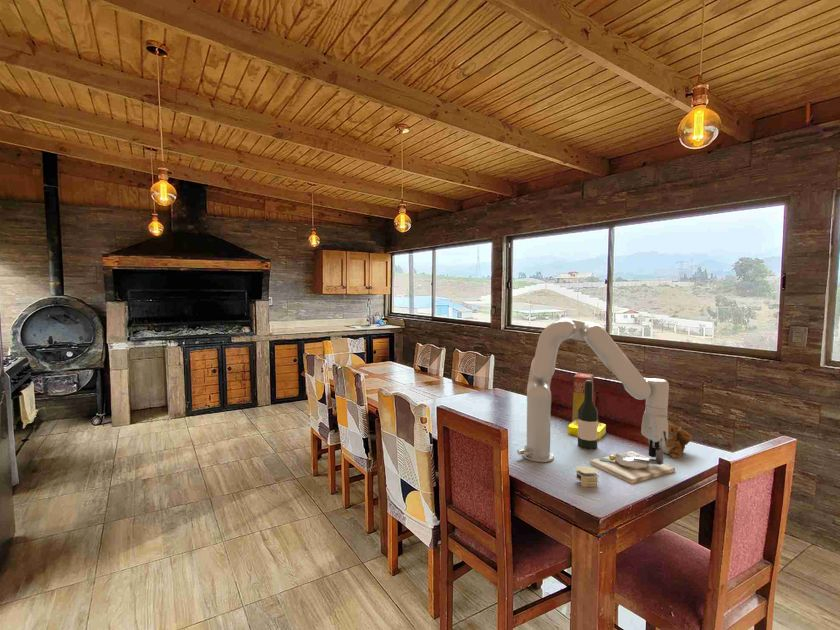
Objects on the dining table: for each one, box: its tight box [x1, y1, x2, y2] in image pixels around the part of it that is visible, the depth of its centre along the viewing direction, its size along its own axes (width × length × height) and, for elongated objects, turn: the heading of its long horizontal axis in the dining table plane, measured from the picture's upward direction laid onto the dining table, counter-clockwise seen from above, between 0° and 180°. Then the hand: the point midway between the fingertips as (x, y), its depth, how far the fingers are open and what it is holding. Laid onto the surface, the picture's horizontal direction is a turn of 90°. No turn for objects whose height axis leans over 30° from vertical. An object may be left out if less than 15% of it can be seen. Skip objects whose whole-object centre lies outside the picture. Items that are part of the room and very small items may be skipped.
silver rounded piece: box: [608, 449, 665, 470], centre depth 160 cm, size 19×12×7 cm, turn 67°
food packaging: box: [571, 372, 595, 423], centre depth 221 cm, size 13×9×25 cm
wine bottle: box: [577, 380, 599, 451], centre depth 183 cm, size 8×8×30 cm
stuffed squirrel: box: [659, 422, 693, 459], centre depth 176 cm, size 10×14×13 cm
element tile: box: [567, 419, 607, 441], centre depth 202 cm, size 15×15×5 cm
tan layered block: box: [574, 465, 600, 488], centre depth 147 cm, size 10×9×6 cm
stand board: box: [589, 450, 676, 484], centre depth 161 cm, size 24×19×2 cm
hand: (653, 456), depth 161 cm, fingers closed
